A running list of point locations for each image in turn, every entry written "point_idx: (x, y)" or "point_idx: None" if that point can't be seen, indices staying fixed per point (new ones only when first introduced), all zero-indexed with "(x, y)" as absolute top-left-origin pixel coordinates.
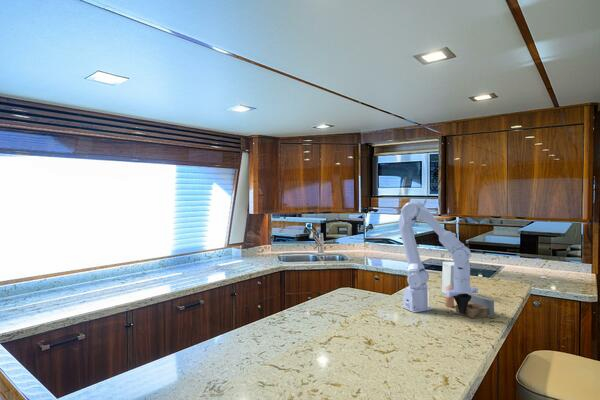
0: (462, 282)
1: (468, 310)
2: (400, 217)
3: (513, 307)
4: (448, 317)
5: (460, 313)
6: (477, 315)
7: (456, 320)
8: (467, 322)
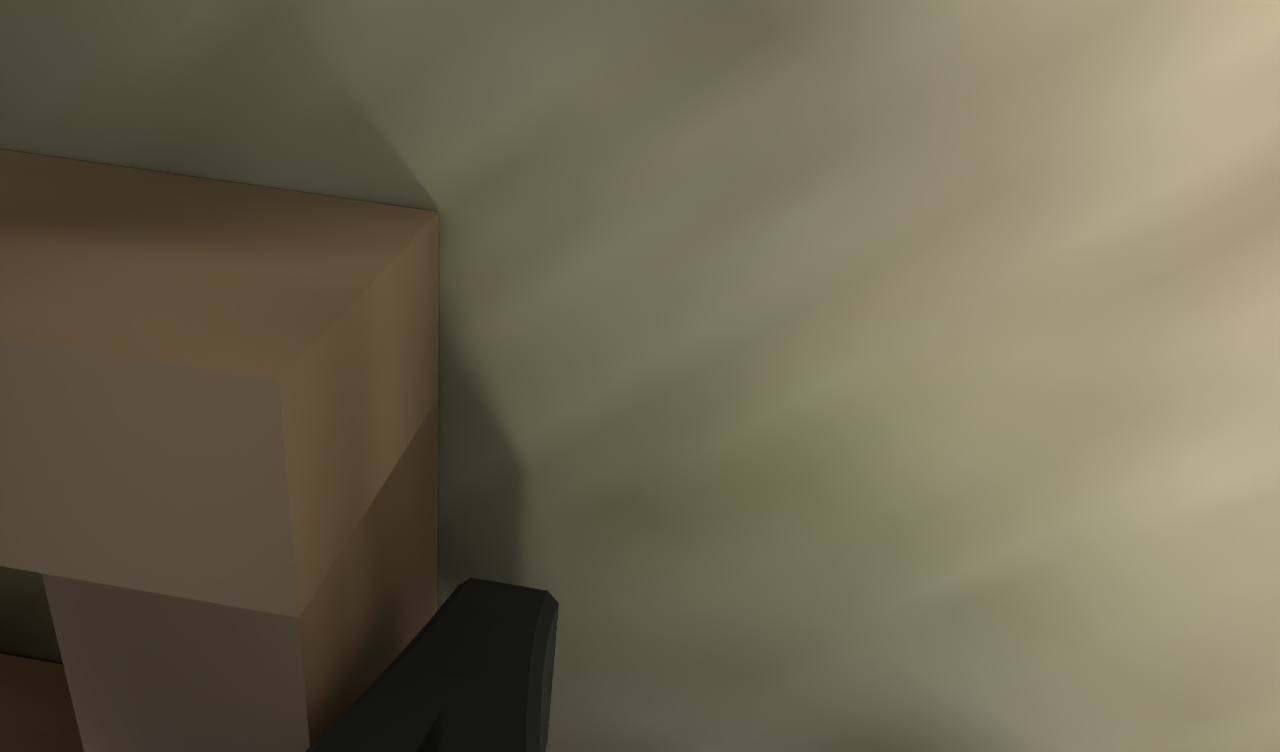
0: None
1: (325, 573)
2: None
3: None
4: (1110, 746)
5: None
6: (83, 196)
7: (1227, 435)
8: (1109, 6)
